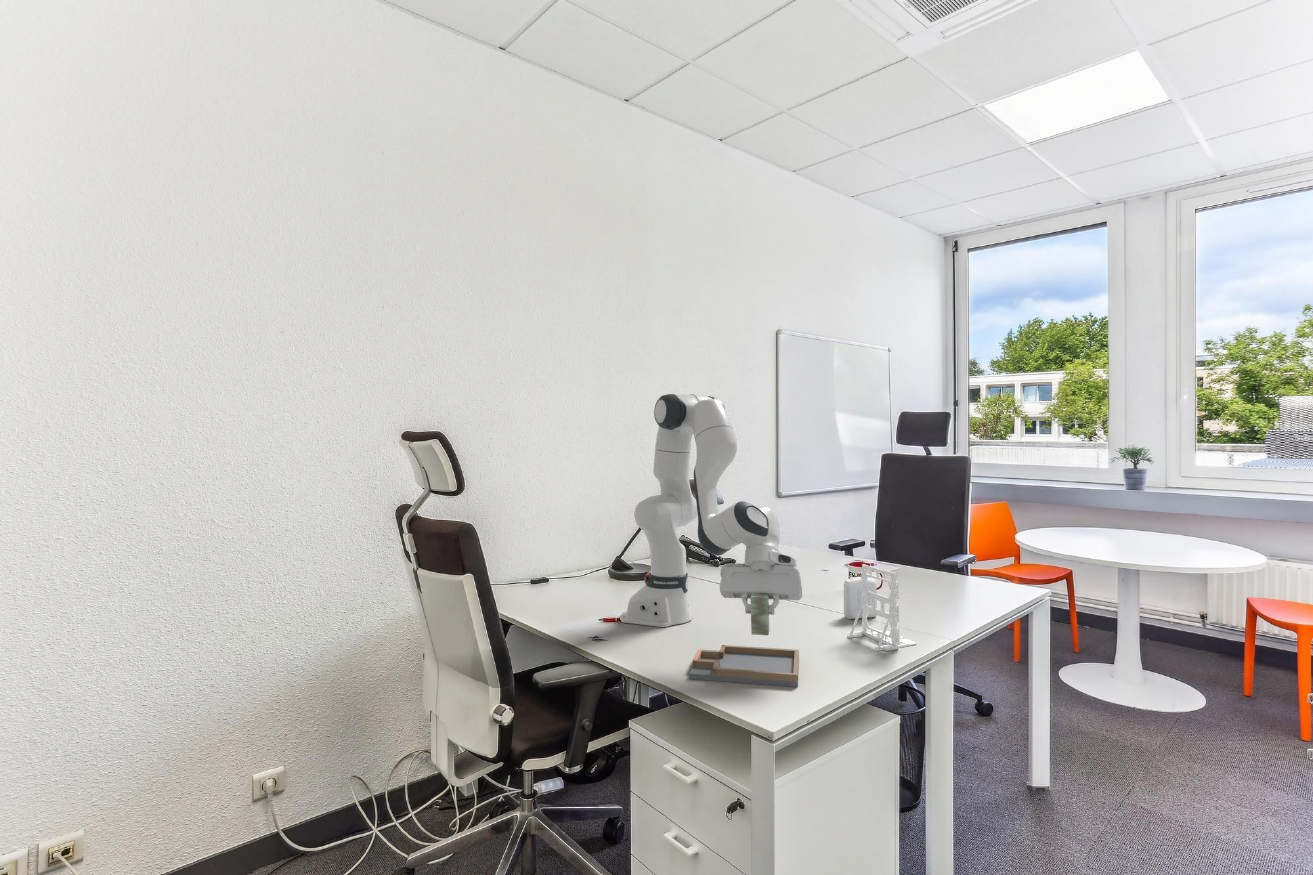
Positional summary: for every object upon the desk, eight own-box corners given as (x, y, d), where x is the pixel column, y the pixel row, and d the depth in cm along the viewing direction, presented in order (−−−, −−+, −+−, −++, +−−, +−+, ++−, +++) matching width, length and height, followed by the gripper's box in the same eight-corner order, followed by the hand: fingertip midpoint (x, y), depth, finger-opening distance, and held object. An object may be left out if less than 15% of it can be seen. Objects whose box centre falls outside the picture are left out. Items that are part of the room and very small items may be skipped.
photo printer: (871, 613, 198) (870, 574, 198) (879, 617, 194) (878, 577, 194) (841, 616, 195) (841, 576, 195) (849, 620, 191) (848, 579, 191)
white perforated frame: (921, 645, 168) (920, 570, 168) (879, 652, 163) (878, 575, 163) (884, 630, 181) (883, 561, 181) (844, 636, 176) (843, 565, 176)
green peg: (751, 634, 151) (750, 597, 151) (752, 629, 155) (751, 592, 155) (768, 635, 150) (767, 597, 150) (769, 630, 154) (768, 593, 154)
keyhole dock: (689, 678, 148) (688, 667, 148) (701, 654, 164) (700, 643, 164) (797, 686, 142) (797, 674, 142) (799, 660, 158) (798, 649, 158)
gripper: (719, 556, 161) (715, 604, 152) (801, 558, 156) (802, 607, 147) (722, 570, 166) (718, 617, 156) (802, 572, 161) (802, 621, 151)
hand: (759, 612), depth 151 cm, fingers closed on green peg, 4 cm apart
